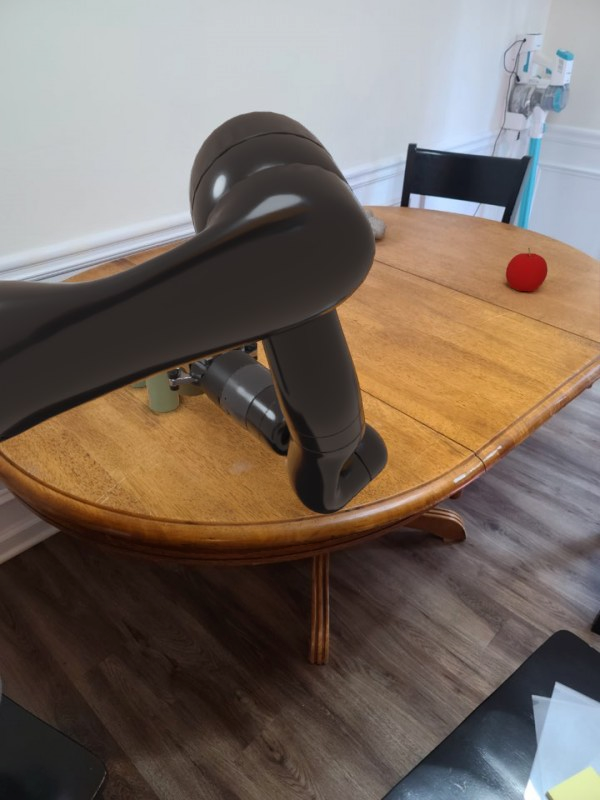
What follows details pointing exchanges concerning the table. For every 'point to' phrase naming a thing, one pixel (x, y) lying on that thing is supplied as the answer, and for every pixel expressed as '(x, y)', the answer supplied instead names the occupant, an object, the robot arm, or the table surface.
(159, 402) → the front jar
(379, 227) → the campfire
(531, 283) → the fruit
